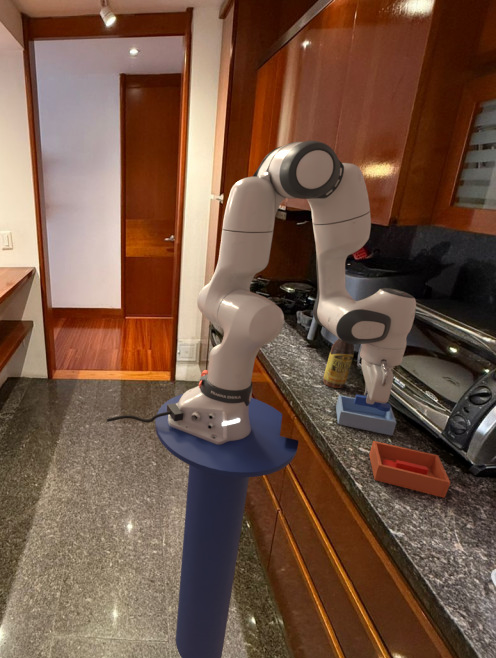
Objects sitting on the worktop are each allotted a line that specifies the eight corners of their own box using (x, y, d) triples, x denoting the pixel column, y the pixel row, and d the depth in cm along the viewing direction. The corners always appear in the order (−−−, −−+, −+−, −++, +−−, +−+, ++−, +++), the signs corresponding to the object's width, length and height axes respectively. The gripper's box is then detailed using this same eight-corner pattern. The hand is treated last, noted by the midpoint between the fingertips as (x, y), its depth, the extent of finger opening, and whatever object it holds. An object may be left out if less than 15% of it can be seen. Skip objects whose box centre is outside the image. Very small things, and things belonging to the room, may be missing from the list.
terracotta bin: (374, 480, 84) (378, 465, 82) (369, 454, 91) (373, 440, 90) (444, 498, 79) (450, 482, 77) (432, 469, 87) (438, 455, 85)
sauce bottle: (326, 388, 120) (339, 329, 113) (319, 379, 126) (331, 322, 118) (349, 390, 119) (364, 330, 112) (340, 380, 125) (354, 322, 118)
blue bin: (337, 424, 103) (340, 411, 101) (335, 407, 111) (338, 394, 109) (392, 435, 98) (396, 422, 96) (386, 417, 106) (390, 404, 104)
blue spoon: (354, 405, 102) (356, 398, 101) (353, 400, 105) (355, 392, 104) (390, 412, 99) (393, 404, 98) (388, 406, 102) (391, 398, 101)
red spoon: (422, 472, 85) (426, 463, 84) (426, 482, 82) (429, 473, 81) (380, 462, 88) (382, 453, 87) (382, 471, 86) (384, 462, 85)
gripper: (405, 372, 87) (389, 424, 92) (389, 340, 104) (377, 385, 109) (372, 367, 89) (358, 418, 95) (362, 336, 106) (351, 380, 112)
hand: (368, 400), depth 102 cm, fingers closed on blue spoon, 1 cm apart
